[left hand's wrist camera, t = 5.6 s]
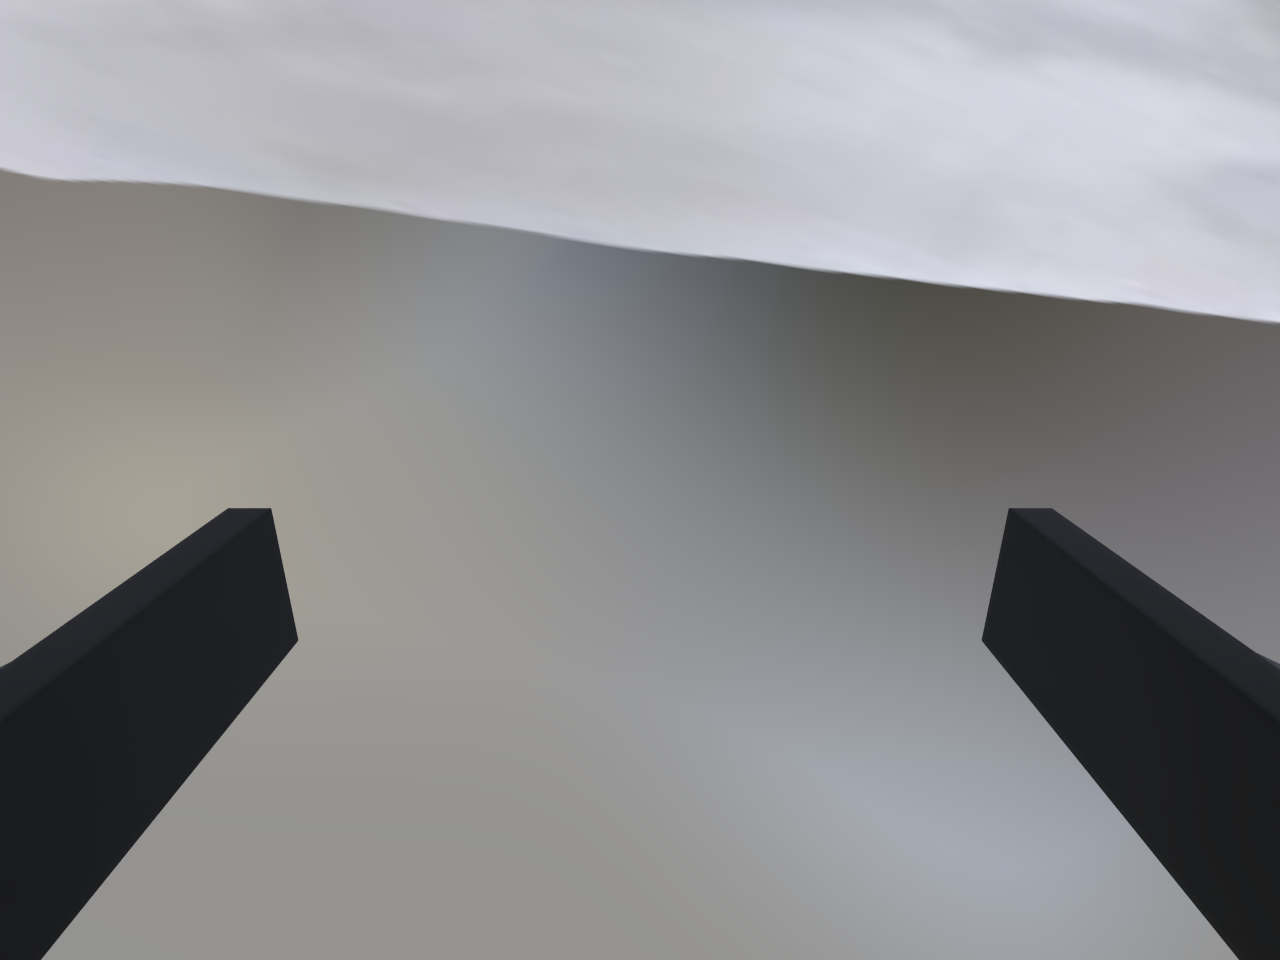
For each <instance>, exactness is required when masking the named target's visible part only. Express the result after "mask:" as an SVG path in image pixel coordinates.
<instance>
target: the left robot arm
mask: <svg viewBox="0 0 1280 960" xmlns="http://www.w3.org/2000/svg"><path fill="white" fill-rule="evenodd" d="M297 641H298V637H297V632H296V627H295V622H294V617H293V612H292V607H291V603H290V598H289V593H288V588H287V583H286V578H285V573H284V569H283V564H282V559H281V554H280V549H279V544H278V540H277V534H276V530H275V525H274V520H273V515H272V510H271V508H228V509H227V510H225V511H224V512H222V513H221V514H219V515H218V516H217V517H215V518H214V519H212V520H211V521H210V522H208V523H207V524H205V525H204V526H202V527H201V528H200V529H198V530H197V531H195V532H194V533H193V534H191V535H190V536H188V537H187V538H186V539H184V540H183V541H181V542H180V543H179V544H177V545H176V546H174V547H173V548H171V549H170V550H169V551H167V552H166V553H164V554H163V555H162V556H160V557H159V558H157V559H156V560H154V561H153V562H152V563H150V564H149V565H147V566H146V567H145V568H143V569H142V570H140V571H139V572H138V573H136V574H135V575H133V576H132V577H131V578H129V579H128V580H126V581H125V582H123V583H122V584H121V585H119V586H118V587H116V588H115V589H114V590H112V591H111V592H109V593H108V594H106V595H105V596H104V597H102V598H101V599H99V600H98V601H97V602H95V603H94V604H92V605H91V606H90V607H88V608H87V609H85V610H84V611H82V612H81V613H80V614H78V615H77V616H75V617H74V618H73V619H71V620H70V621H68V622H67V623H66V624H64V625H63V626H61V627H60V628H58V629H57V630H56V631H54V632H53V633H51V634H50V635H49V636H47V637H46V638H44V639H43V640H42V641H40V642H39V643H37V644H36V645H34V646H33V647H32V648H30V649H29V650H27V651H26V652H25V653H23V654H22V655H20V656H19V657H18V658H16V659H15V660H13V661H12V662H10V663H8V664H6V665H4V666H2V667H0V960H41V959H42V958H43V956H44V955H45V954H46V953H47V951H48V950H49V949H50V948H51V947H52V945H53V944H54V943H55V942H56V940H57V939H58V938H59V937H60V935H61V934H62V933H63V932H64V930H65V929H66V928H67V927H68V925H69V924H70V923H71V922H72V920H73V919H74V918H75V917H76V915H77V914H78V913H79V912H80V911H81V909H82V908H83V907H84V906H85V904H86V903H87V902H88V901H89V899H90V898H91V897H92V896H93V894H94V893H95V892H96V891H97V889H98V888H99V887H100V886H101V884H102V883H103V882H104V881H105V880H106V878H107V877H108V876H109V875H110V873H111V872H112V871H113V870H114V868H115V867H116V866H117V865H118V863H119V862H120V861H121V860H122V858H123V857H124V856H125V855H126V854H127V852H128V851H129V850H130V849H131V847H132V846H133V845H134V844H135V842H136V841H137V840H138V839H139V837H140V836H141V835H142V834H143V832H144V831H145V830H146V829H147V827H148V826H149V825H150V824H151V823H152V821H153V820H154V819H155V817H156V816H157V815H158V814H159V813H160V811H161V810H162V809H163V808H164V806H165V805H166V804H167V803H168V801H169V800H170V799H171V798H172V796H173V795H174V794H175V793H176V791H177V790H178V789H179V788H180V787H181V785H182V784H183V783H184V782H185V780H186V779H187V778H188V777H189V775H190V774H191V773H192V772H193V770H194V769H195V768H196V767H197V765H198V764H199V763H200V762H201V761H202V759H203V758H204V757H205V756H206V754H207V753H208V752H209V751H210V749H211V748H212V747H213V746H214V744H215V743H216V742H217V741H218V739H219V738H220V737H221V736H222V734H223V733H224V732H225V731H226V730H227V728H228V727H229V726H230V725H231V723H232V722H233V721H234V720H235V718H236V717H237V716H238V715H239V713H240V712H241V711H242V710H243V708H244V707H245V706H246V705H247V703H248V702H249V701H250V700H251V698H252V697H253V696H254V695H255V694H256V692H257V691H258V690H259V688H260V687H261V686H262V685H263V684H264V682H265V681H266V680H267V679H268V677H269V676H270V675H271V674H272V672H273V671H274V670H275V669H276V668H277V666H278V665H279V664H280V663H281V661H282V660H283V659H284V658H285V656H286V655H287V654H288V653H289V651H290V650H291V649H292V648H293V646H294V645H295V644H296V643H297ZM982 641H983V643H984V644H985V645H986V646H987V648H988V649H989V650H990V651H991V653H992V654H993V655H994V656H995V658H996V659H997V660H998V661H999V663H1000V664H1001V665H1002V666H1003V668H1004V669H1005V670H1006V671H1007V672H1008V674H1009V675H1010V676H1011V677H1012V679H1013V680H1014V681H1015V682H1016V684H1017V685H1018V686H1019V687H1020V689H1021V690H1022V691H1023V692H1024V693H1025V695H1026V696H1027V697H1028V699H1029V700H1030V701H1031V702H1032V703H1033V705H1034V706H1035V707H1036V708H1037V710H1038V711H1039V712H1040V713H1041V715H1042V716H1043V717H1044V718H1045V720H1046V721H1047V722H1048V723H1049V725H1050V726H1051V727H1052V728H1053V730H1054V731H1055V732H1056V733H1057V734H1058V736H1059V737H1060V738H1061V739H1062V741H1063V742H1064V743H1065V744H1066V746H1067V747H1068V748H1069V749H1070V751H1071V752H1072V753H1073V754H1074V755H1075V757H1076V758H1077V759H1078V760H1079V762H1080V763H1081V764H1082V765H1083V767H1084V768H1085V769H1086V770H1087V772H1088V773H1089V774H1090V775H1091V777H1092V778H1093V779H1094V780H1095V782H1096V783H1097V784H1098V785H1099V787H1100V788H1101V789H1102V790H1103V792H1104V793H1105V794H1106V795H1107V796H1108V798H1109V799H1110V800H1111V801H1112V803H1113V804H1114V805H1115V806H1116V808H1117V809H1118V810H1119V811H1120V813H1121V814H1122V815H1123V816H1124V818H1125V819H1126V820H1127V821H1128V823H1129V824H1130V825H1131V826H1132V827H1133V829H1134V830H1135V831H1136V832H1137V834H1138V835H1139V836H1140V837H1141V839H1142V840H1143V841H1144V842H1145V844H1146V845H1147V846H1148V847H1149V849H1150V850H1151V851H1152V852H1153V854H1154V855H1155V856H1156V857H1157V858H1158V860H1159V861H1160V862H1161V863H1162V865H1163V866H1164V867H1165V868H1166V870H1167V871H1168V872H1169V873H1170V875H1171V876H1172V877H1173V878H1174V880H1175V881H1176V882H1177V883H1178V885H1179V886H1180V887H1181V888H1182V889H1183V891H1184V892H1185V893H1186V894H1187V896H1188V897H1189V898H1190V899H1191V901H1192V902H1193V903H1194V904H1195V906H1196V907H1197V908H1198V909H1199V911H1200V912H1201V913H1202V914H1203V916H1204V917H1205V918H1206V919H1207V920H1208V922H1209V923H1210V924H1211V925H1212V927H1213V928H1214V929H1215V930H1216V932H1217V933H1218V934H1219V935H1220V937H1221V938H1222V939H1223V940H1224V942H1225V943H1226V944H1227V945H1228V947H1229V948H1230V949H1231V950H1232V951H1233V953H1234V954H1235V955H1236V956H1237V958H1238V959H1239V960H1280V664H1279V663H1276V662H1274V661H1272V660H1270V659H1268V658H1266V657H1264V656H1262V655H1260V654H1258V653H1255V652H1254V651H1253V650H1251V649H1250V648H1248V647H1247V646H1246V645H1244V644H1243V643H1241V642H1240V641H1238V640H1237V639H1236V638H1234V637H1233V636H1231V635H1230V634H1229V633H1227V632H1226V631H1224V630H1223V629H1221V628H1220V627H1219V626H1217V625H1216V624H1214V623H1213V622H1212V621H1210V620H1209V619H1207V618H1206V617H1205V616H1203V615H1202V614H1200V613H1199V612H1198V611H1196V610H1195V609H1193V608H1192V607H1190V606H1189V605H1188V604H1186V603H1185V602H1183V601H1182V600H1181V599H1179V598H1178V597H1176V596H1175V595H1174V594H1172V593H1171V592H1169V591H1168V590H1166V589H1165V588H1164V587H1162V586H1161V585H1159V584H1158V583H1157V582H1155V581H1154V580H1152V579H1151V578H1150V577H1148V576H1147V575H1145V574H1144V573H1142V572H1141V571H1140V570H1138V569H1137V568H1135V567H1134V566H1133V565H1131V564H1130V563H1128V562H1127V561H1126V560H1124V559H1123V558H1121V557H1120V556H1118V555H1117V554H1116V553H1114V552H1113V551H1111V550H1110V549H1109V548H1107V547H1106V546H1104V545H1103V544H1102V543H1100V542H1099V541H1097V540H1096V539H1094V538H1093V537H1092V536H1090V535H1089V534H1087V533H1086V532H1085V531H1083V530H1082V529H1080V528H1079V527H1077V526H1076V525H1075V524H1073V523H1072V522H1070V521H1069V520H1068V519H1066V518H1065V517H1063V516H1062V515H1061V514H1059V513H1058V512H1056V511H1055V510H1053V509H1052V508H1009V510H1008V515H1007V520H1006V525H1005V530H1004V535H1003V539H1002V544H1001V549H1000V554H999V559H998V564H997V568H996V573H995V578H994V583H993V588H992V593H991V598H990V603H989V607H988V612H987V617H986V622H985V627H984V632H983V637H982Z"/></svg>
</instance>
